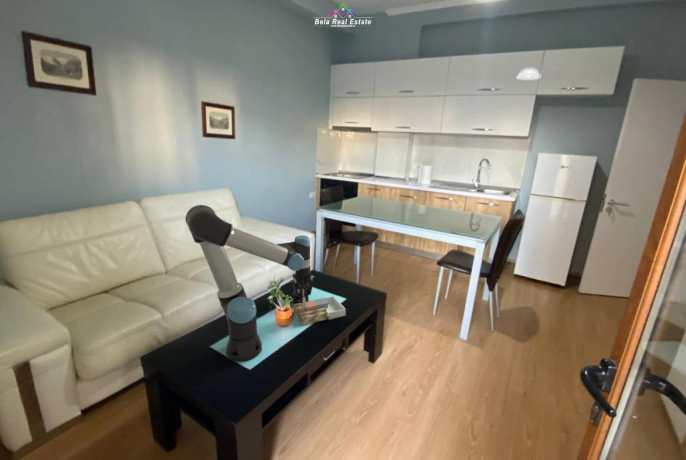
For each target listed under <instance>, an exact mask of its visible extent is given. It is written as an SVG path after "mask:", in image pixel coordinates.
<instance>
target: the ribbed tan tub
mask: <svg viewBox="0 0 686 460" xmlns="http://www.w3.org/2000/svg"><path fill="white" fill-rule="evenodd" d="M292 306H293V310H292V311H293V314H294V315H295V316H296V318H297V320H298V321H299V323H300V324H301V326H305V325H310V324H313V323H314V324H315V323H318V322H322V321H326V320H329V319H328V312H327V311H326V309H327V308H322V309H317V310H313V311H309V312H306V311H305V310H304V309H303V308H302V307H301V303H298V304H294V305H292Z"/></svg>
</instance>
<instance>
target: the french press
mask: <svg viewBox="0 0 686 460" xmlns="http://www.w3.org/2000/svg"><path fill="white" fill-rule="evenodd" d="M295 275H296V272H295V273H293V274H292V278H293V279H294V278H295ZM293 279H292V280H293ZM295 284H296V286H297V289H298V292H299V286H298V285H297V284H299V283H298V281H297V280H296V283H295ZM308 286H309V284H308V285H307V288H308ZM291 293H292V295H291V296H293V297H292V304H293V305H292V306H294V304H298V303H300V299H299V298H298V297H297V296H296V294H295V290H294V287H293V284H292V283H291ZM303 295H304V285H303ZM307 301H310V300H309V296H308V297H307Z"/></svg>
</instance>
